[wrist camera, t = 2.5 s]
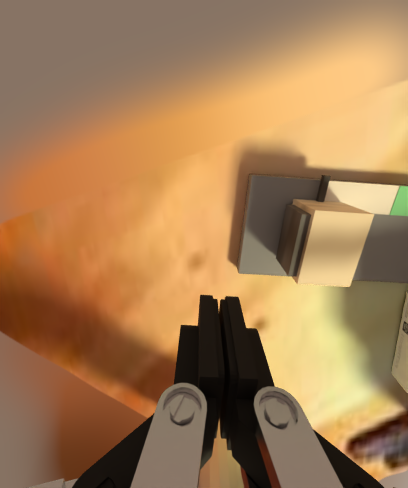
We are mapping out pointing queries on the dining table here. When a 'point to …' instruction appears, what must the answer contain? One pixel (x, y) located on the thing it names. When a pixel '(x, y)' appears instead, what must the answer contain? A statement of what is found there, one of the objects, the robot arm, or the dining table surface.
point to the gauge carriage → (322, 240)
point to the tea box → (402, 350)
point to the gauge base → (349, 192)
